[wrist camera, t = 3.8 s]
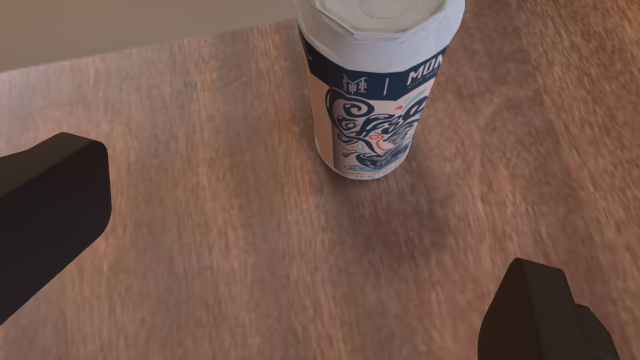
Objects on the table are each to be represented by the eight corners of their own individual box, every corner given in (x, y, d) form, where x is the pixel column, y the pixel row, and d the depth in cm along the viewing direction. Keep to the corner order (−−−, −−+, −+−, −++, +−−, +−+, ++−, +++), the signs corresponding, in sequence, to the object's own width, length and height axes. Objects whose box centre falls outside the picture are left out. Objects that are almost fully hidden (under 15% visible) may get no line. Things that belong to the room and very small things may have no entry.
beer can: (348, 201, 23) (354, 86, 11) (297, 124, 24) (255, -49, 13) (429, 149, 23) (514, -10, 12) (375, 77, 25) (404, -131, 13)
